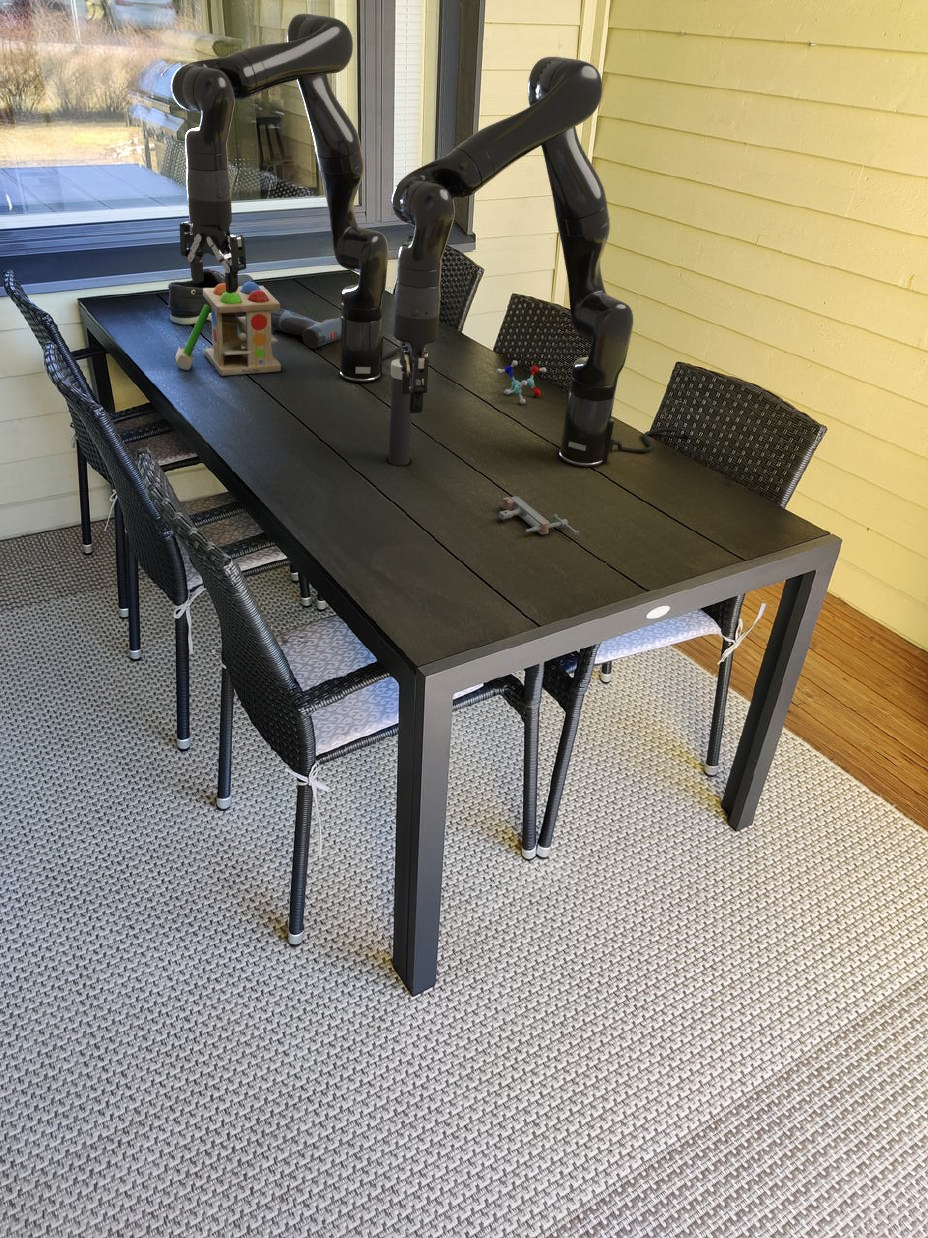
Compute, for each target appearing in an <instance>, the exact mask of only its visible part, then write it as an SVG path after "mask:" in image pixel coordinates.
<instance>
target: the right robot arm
mask: <svg viewBox="0 0 928 1238" xmlns="http://www.w3.org/2000/svg"><path fill="white" fill-rule="evenodd" d="M602 96H603V80H602V75H601V73H600V71H599V70H598V69H597V67H596V66H595V65H593V64H592V63H590V62H588V61H584V60H580V59H576V58H568V57H560V56H545V57H542V58H540V59H539V60H537V61H536V62H535V64H534V65H533V67H532V69H531V71H530V73H529V76H528V81H527V98H528V99H527V100H528V105H529V106H528V107H526V108H525V109H523V110H520V111H519V112H517V113H515V114H513V115H511V116H508V117H506V118H503V119H501V120H498V121H496V122H494V123H492V124H489V125H487V126H485V127H483V128H481V129H480V130H477V132H475V133H473V134H472V135H471V136H469V137H468V138H466V139H465V140H464V141H463V142H461V143H460V144H458V146H456V147H455V148H454V149H452V150H451V151H450V152H449V153H448V154H446V155H444V156H442V157H440V158H438V159H435V160H433V161H430V162H429V163H427V164H425V165H423V166H421V167H418V168H416V169H415V170H413V171H411V172H409V173H408V174H407V175H405V176H404V177H403V178H402V179H401V180H400V181H399V182H398V184H396V186H395V188H394V190H393V193H392V195H391V208H392V210H393V212H394V214H395V216H396V217H397V218H398V219H399V220H401V222H404V223H406V224H408V225H411V226H412V227H414V235H413V238H412V240H410V241H407V242H404V243H403V244H401V246H400V247H399V251H398V255H397V256H398V257H397V274H396V286H395V290H394V291H395V292H394V303H393V304H394V305H393V326H392V335H393V337H394V338H395V339H396V340H397V341H399V342H400V346H401V351H400V355H399V359H400V361H399V362H400V365H402V366H401V371H402V372H404V373H402V389H401V391H402V393H403V394H410V399H409V411H410V413H412V414H422V412H423V407H424V405H423V404H424V394H427V393H428V390H429V389H428V384H429V383H428V382H429V363H430V358H429V353H428V351H426V345H428V344H432V343H434V342H436V341H437V340H438V337H439V327H440V326H439V325H440V311H441V303H440V299H441V279H442V278H441V276H442V259H443V256H444V253H445V250H446V247H447V243H448V241H449V238H450V234H451V231H452V227H453V224H454V222H455V221H454V220H455V210H456V209H455V201H454V198H469V197H470V196H472V195H474V194H475V193H477V192H478V191H479V190H481V189H482V188H483V187H484V186H486V185H487V184H488V183H489V182H490V181H493V179H495V178H496V177H497V176H498V175H499V174H501V173H502V172H504V171H505V170H506V169H507V168H509V167H510V166H512V165H513V164H514V163H515V162H517V161H518V160H520V159H522V158H523V157H524V156H526V155H529V153H531V152H532V151H535V150H536V149H537V148H539V147H541V150H542V153H543V157H544V161H545V162H544V163H545V166H546V167H545V168H546V172H547V176H548V181H549V186H550V191H551V196H552V201H553V208H554V214H555V220H556V224H557V231H558V235H559V238H560V242H561V247H562V248H561V249H562V253H563V260H564V265H565V271H566V277H567V285H568V300H569V311H570V321H571V325H572V327H573V329H574V332H575V333H576V334H577V335H578V336H579V337H580V338H582V339H584V340H585V341H587V342H589V343H591V345H590V349H589V354H588V356H584V357H580V358H577V359H576V360H575V361H574V362H573V364H572V368H571V373H570V375H571V376H570V380H569V387H568V394H567V402H566V408H565V415H564V422H563V428H562V436H561V441H560V445H559V452H558V456H559V458H560V459H561V460H562V461H563V462H565V463H567V464H569V465H572V466H577V467H581V468H582V467H583V468H584V467H586V468H593V467H597V466H600V465H602V464H607V463H608V458H609V453H613V448H614V446H617V449H618V450H619V451H622V452H627V453H632V454H633V453H634V454H645V453H649V452H651V451H652V450H653V449H654V444H653V442H652V441H651V439H650V438H649V437H648V436H650V435H654V434H659V433H676V434H678V433H677V429H678V428H675V427H662V428H661V427H660V428H655V429H651V430H647V431H645V432H644V433H643V434H642V438H643V440H644V442H645V443H646V444H647V445H648V447H646V448H645V447H644V448H630V447H626V446H624V445H623V444H622V442H620V441H618V440H615V439H614V438H613V436H612V435H613V431H614V424H615V420H614V418H613V417H612V416H613V415H612V414H613V409H614V403H615V398H616V392H617V385H618V380H619V376H620V374H621V372H622V370H623V368H624V367H625V364H626V361H627V356H628V351H629V348H630V347H629V346H630V343H631V338H632V334H633V329H634V313H633V310H632V308H631V307H630V305H629V304H628V303H626V302H624V301H622V300H620V299H619V298H616V297H613V296H611V295H610V294H608V293H607V290H606V288H605V285H604V281H603V274H602V266H601V263H602V257H603V254H604V251H605V249H606V247H607V244H608V241H609V238H610V231H611V230H610V229H611V221H610V220H611V219H610V214H609V206H608V201H607V194H606V191H605V187H604V185H603V182H602V180H601V178H600V176H599V174H598V172H597V171H596V169H595V168H594V166H593V164H592V163H591V161H590V159H589V157H588V156H587V154H586V152H585V150H584V149H583V146H582V144H581V142H580V139H579V136H578V135H579V134H578V132H577V128H576V127H578V126H580V125H581V124H583V123H584V122H586V121H587V120H589V118H591V117H592V116H593V114H594V113H595V112H596V111H597V109H598V107H599V105H600V103H601V100H602ZM417 380H419V381H420V384H417ZM687 434H688V433H687ZM687 434H680V435H682V436H683V437H684V438H685V439H688V440H690V439H691V440H692V438H691V436H690V435H689V434H688V435H689V436H688V435H687Z"/></svg>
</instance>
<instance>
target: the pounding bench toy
mask: <svg viewBox="0 0 928 1238" xmlns="http://www.w3.org/2000/svg"><path fill="white" fill-rule="evenodd" d="M203 296H204V297H205V299H206V300H207V301H208V302H209V304H210V305H211V307H210V306H208V305H204V307H203V309H202V311H201V314H200V316H199V318H198V320H197V322H196V323H194V327H193V329H192V331H191V332H190V333H191V334H190V336H189V338H188V340H187V343H186V344H185V347H184V348H182V347H180V346H179V347H178V349H177V351H176V354H175V357H174V358H175V362H176V365H177V366H178V368H179V369H182V370H185V371H189V370H190V369H191V367H192V365H193V363H194V356H193V351H194V348H195V347H196V345H197V342H198V340H199V337H200V336H201V333H202V332H203V329H204V326H205V325H206V322H207V321H210V322H211V336H212V337H211V338H212V339H211V340H212V348H205V349H204V352H205V353H204V355H205V357H206V359H208V361H209V363H210V364H211V365H212V366H213V367H214V369H215V370H216V371H217V372H218V374H219V375H220V376H222V377H223V376H234V375H235V376H236V375H246V374H247V375H250V374H262V373H275V372H281V370H282V364H281V363H280V362H279V360H278V359H277V358H276V357H275V356H274V355H273V348H272V347H273V345H272V344H276V343H278V342H279V341H278V339H277V338H276V337H275V336H274V334H272V327H271V310H280V309H281V304H280V301H278V300H277V299H276V297H274V296H273V295H272V294H271V293H270V292H269V290H268V289H267V288H266V287H264V285H259V284H257V283H256V282H255V283H254V282H247V283H245V284H244V285H243V286H242V287H238V289H237V291H236V292H234V293H227V292H226V283H221V284H218V285H217V286H216V287H215V288H204V289H203ZM210 310H211V314H209V312H210ZM238 313H244V314H245V315H244V316H238ZM207 318H209V320H207ZM238 329H239V331H240V333H239V334H238Z"/></svg>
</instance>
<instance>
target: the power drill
mask: <svg viewBox="0 0 928 1238" xmlns="http://www.w3.org/2000/svg"><path fill="white" fill-rule="evenodd" d="M271 328H274V329H276V330H278V331H281V332H284V333H288V334H290V335H296V336H300V337H302V341H303V343H304V344H305V346H306V347H308V348H309V349H316V348H319V347H322V346H325V345H328V344H330V343H333V342H336V341H338V340H341V317H338V318H331V319H324V320H322V321H320V322H319V321H316V320H314V319H312V318H309V317H306V316H304V315H302V314H300V313H297V312H293V311H291V310H288V309H283V308H280V310H271Z"/></svg>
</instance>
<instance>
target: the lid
mask: <svg viewBox="0 0 928 1238" xmlns="http://www.w3.org/2000/svg"><path fill="white" fill-rule="evenodd" d="M399 361H400V358H397V359H392V361H391V363H390V376H391V378H392V377H393V378H396V379H399V380H402V373H404V372H402V371H401V366H402V365H400V362H399Z"/></svg>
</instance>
